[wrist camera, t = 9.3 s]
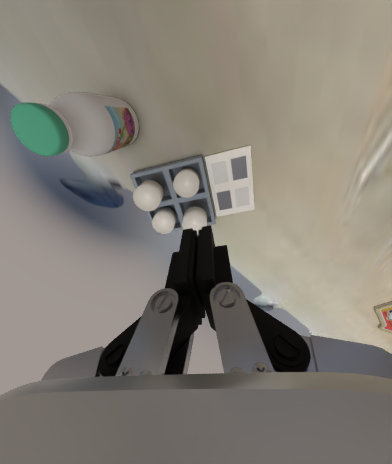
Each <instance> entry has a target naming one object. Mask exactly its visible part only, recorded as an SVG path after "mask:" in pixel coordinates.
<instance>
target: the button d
mask: <svg viewBox="0 0 392 464" xmlns="http://www.w3.org/2000/svg"><path fill="white" fill-rule="evenodd" d="M203 226H207V214H206V212H205V211H204V210H203V209H202V208H200V207H196V206H195V207H190V208H188V209H187V210H186V211H185V213H184V217H183V222H182V227H183V230H184V229H190V228H192V229H193V230H196V231H197V235H198V231H199V230H200V229H202V227H203Z"/></svg>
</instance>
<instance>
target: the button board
mask: <svg viewBox="0 0 392 464" xmlns="http://www.w3.org/2000/svg"><path fill="white" fill-rule="evenodd" d="M183 168H192V169H194V170H195V171H196V172H197V173H198V175H199V178H200V182H199V189H198V192H197V193H196V194H195V195H194V196H192V197H189V198H184V197H181V196H179V195H178V194H177V193H176V192H175V190H174V187H173V181H174V179H175V177H176V175H177V173H178V172H179V171H180V170H181V169H183ZM130 177H131V179H132V181H133V183H134V186H135V188H136V189H137V188H138V187H139V185H140V184H141V183H142V182H144V181H146V180H152V181H155V182H157V183H158V184H160V186H161V187H162V189H163V192H164V195H163V198H162V200H161V202H160V204H159V206H158V207H157V208H156V209H155V210H153V211H146V212H147V215H148V217H149V219H150V222H151V224H152V220H153V218H154V216H155V214H156V212H157V210H158V209H160V208H163V207H168V208H171V209H172V210H173V211H174V212H175V214H176V222H175V226H174V229H173V230H172V231H178V230H183V227H182V222H183V217H184V213H185V211H186V210H187V209H188V208H190V207H195V206H196V207H200V208H202V209H203V210H204V211H205V212H206V214H207V225H212V224H215V215H214V210H213V206H212V201H211V196H210V191H209V187H208V182H207V177H206V172H205V168H204V163H203V158H202V155H198V156H194V157H190V158H186V159H182V160H178V161H174V162H170V163H166V164H162V165H158V166H154V167H150V168H146V169H142V170H138V171H135V172H133V173H132V174H131V175H130ZM153 229H154V228H153ZM154 231H155V233H156V234H161V233H159V232H157V231H156V230H155V229H154ZM172 231H171V232H172Z"/></svg>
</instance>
